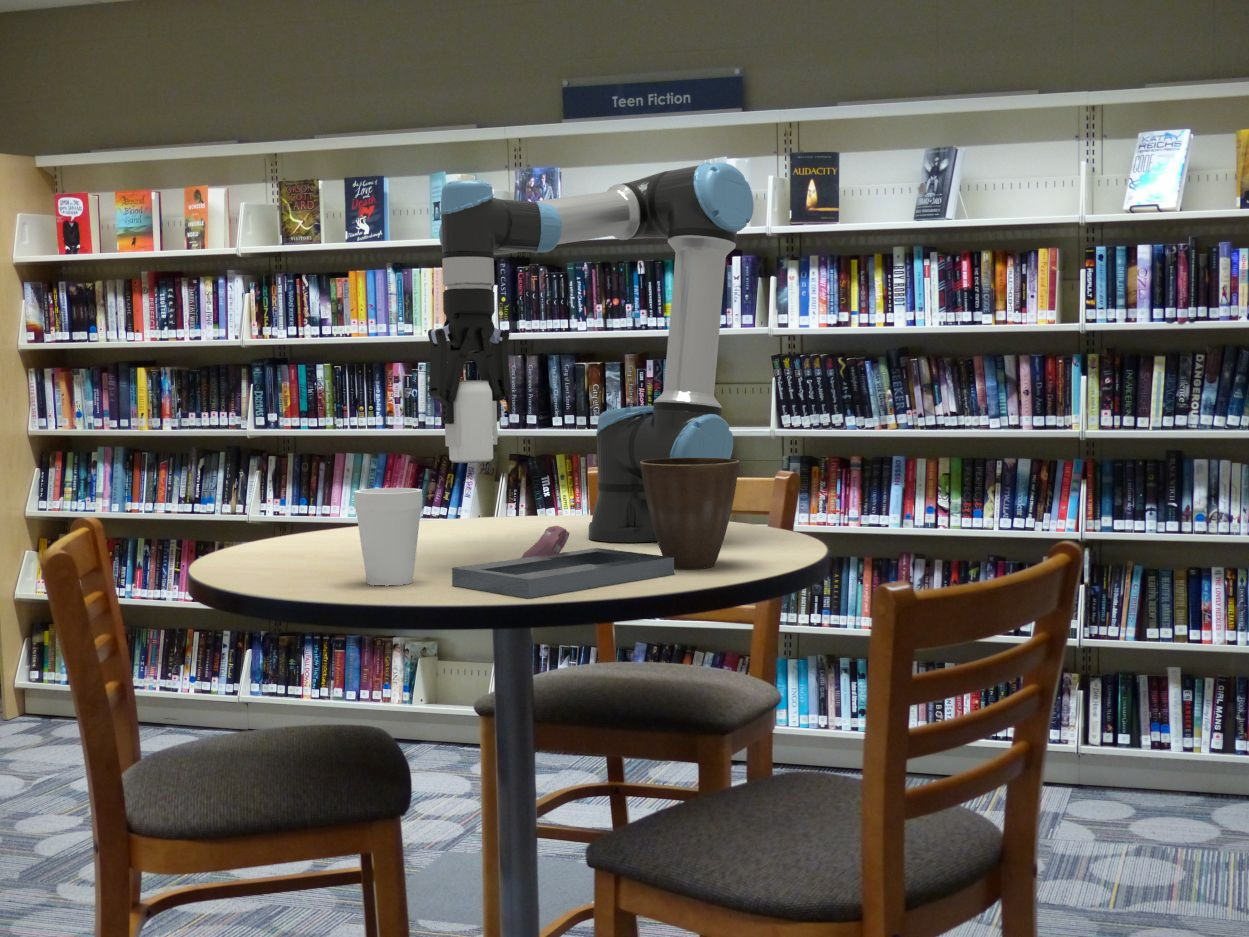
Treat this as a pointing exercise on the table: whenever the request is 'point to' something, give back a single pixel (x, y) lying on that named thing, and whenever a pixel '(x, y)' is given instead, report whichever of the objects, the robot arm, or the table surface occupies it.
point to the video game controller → (549, 542)
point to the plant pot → (690, 506)
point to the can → (474, 423)
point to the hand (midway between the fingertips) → (471, 445)
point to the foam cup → (388, 533)
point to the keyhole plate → (561, 572)
